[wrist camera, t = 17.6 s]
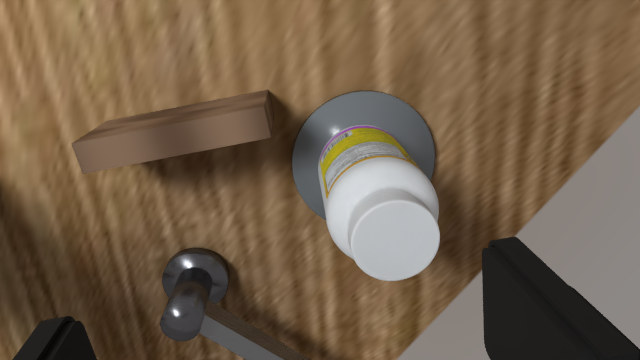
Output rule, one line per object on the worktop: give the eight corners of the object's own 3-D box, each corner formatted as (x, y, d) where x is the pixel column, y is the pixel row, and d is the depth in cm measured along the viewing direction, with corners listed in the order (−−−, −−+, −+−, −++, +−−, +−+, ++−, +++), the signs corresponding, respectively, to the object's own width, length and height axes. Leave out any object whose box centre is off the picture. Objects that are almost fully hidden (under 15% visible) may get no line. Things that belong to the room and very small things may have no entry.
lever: (153, 281, 39) (125, 338, 32) (187, 236, 38) (165, 285, 31) (326, 380, 44) (332, 448, 37) (362, 343, 43) (375, 405, 36)
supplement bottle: (398, 205, 38) (449, 299, 26) (315, 203, 37) (327, 299, 25) (408, 122, 35) (468, 184, 23) (319, 119, 35) (334, 181, 23)
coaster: (306, 236, 39) (307, 240, 38) (278, 105, 35) (278, 107, 34) (438, 211, 39) (440, 214, 38) (425, 77, 35) (427, 78, 34)
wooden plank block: (116, 146, 35) (83, 173, 30) (106, 121, 35) (71, 143, 29) (274, 116, 35) (270, 137, 30) (268, 89, 34) (263, 106, 29)
